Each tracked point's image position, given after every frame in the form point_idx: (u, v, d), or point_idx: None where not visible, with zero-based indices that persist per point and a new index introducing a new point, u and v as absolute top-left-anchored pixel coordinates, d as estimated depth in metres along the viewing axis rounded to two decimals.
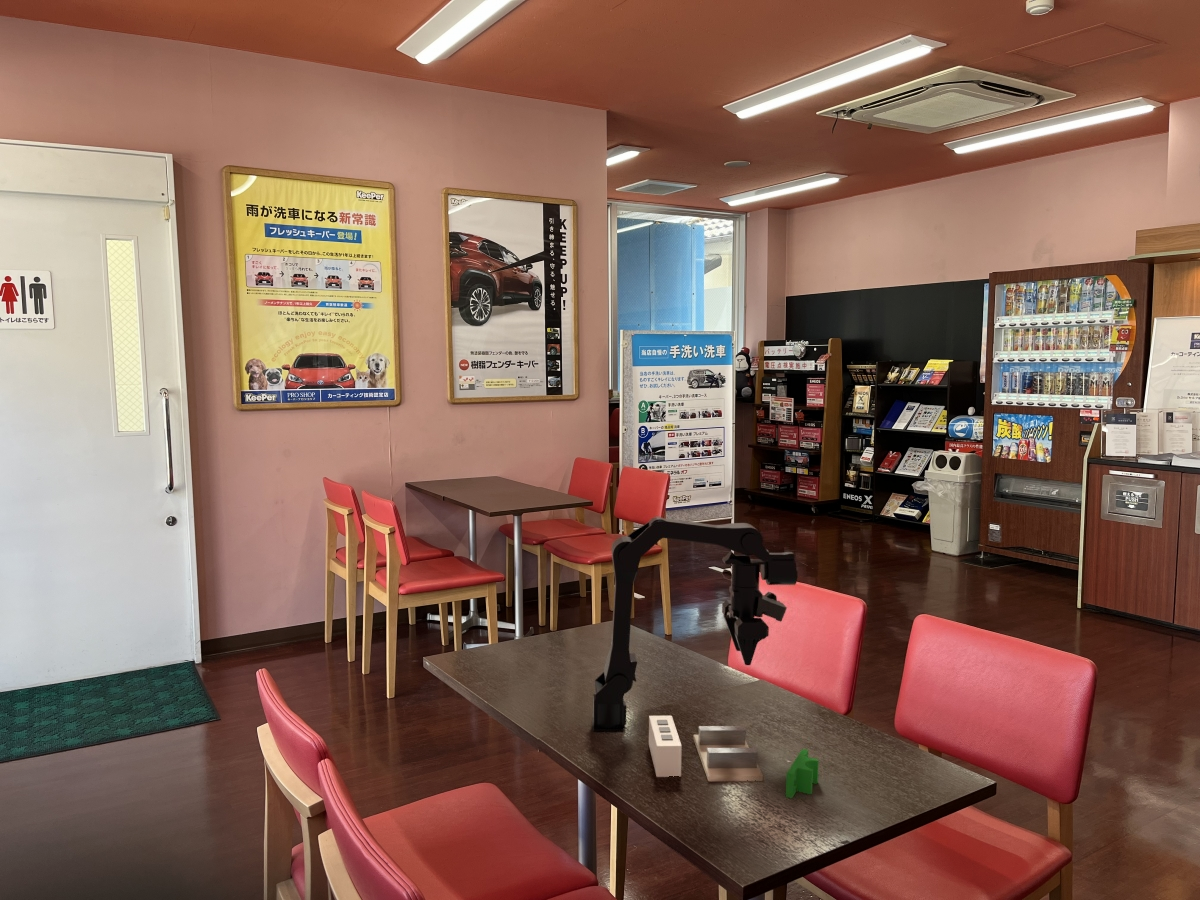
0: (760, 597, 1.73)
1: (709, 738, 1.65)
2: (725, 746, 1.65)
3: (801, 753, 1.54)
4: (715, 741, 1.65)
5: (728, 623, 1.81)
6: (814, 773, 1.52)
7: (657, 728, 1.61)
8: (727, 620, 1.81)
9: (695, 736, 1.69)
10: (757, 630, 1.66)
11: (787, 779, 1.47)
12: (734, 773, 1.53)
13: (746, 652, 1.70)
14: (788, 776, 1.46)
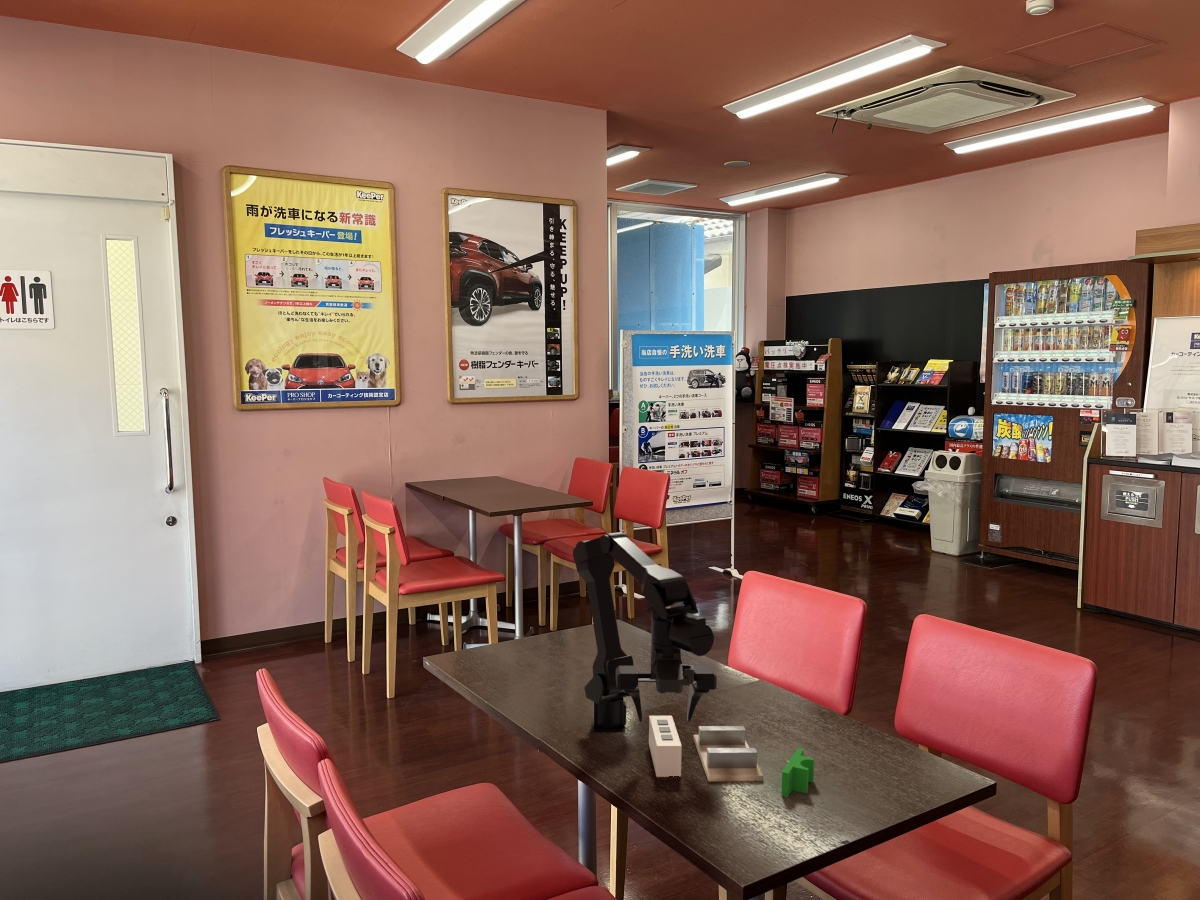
0: (655, 656, 1.56)
1: (709, 738, 1.65)
2: (725, 746, 1.65)
3: (797, 752, 1.55)
4: (715, 741, 1.65)
5: (689, 686, 1.62)
6: (810, 772, 1.52)
7: (657, 728, 1.61)
8: None
9: (695, 736, 1.69)
10: (616, 678, 1.59)
11: (783, 778, 1.47)
12: (734, 773, 1.53)
13: None
14: (783, 775, 1.47)
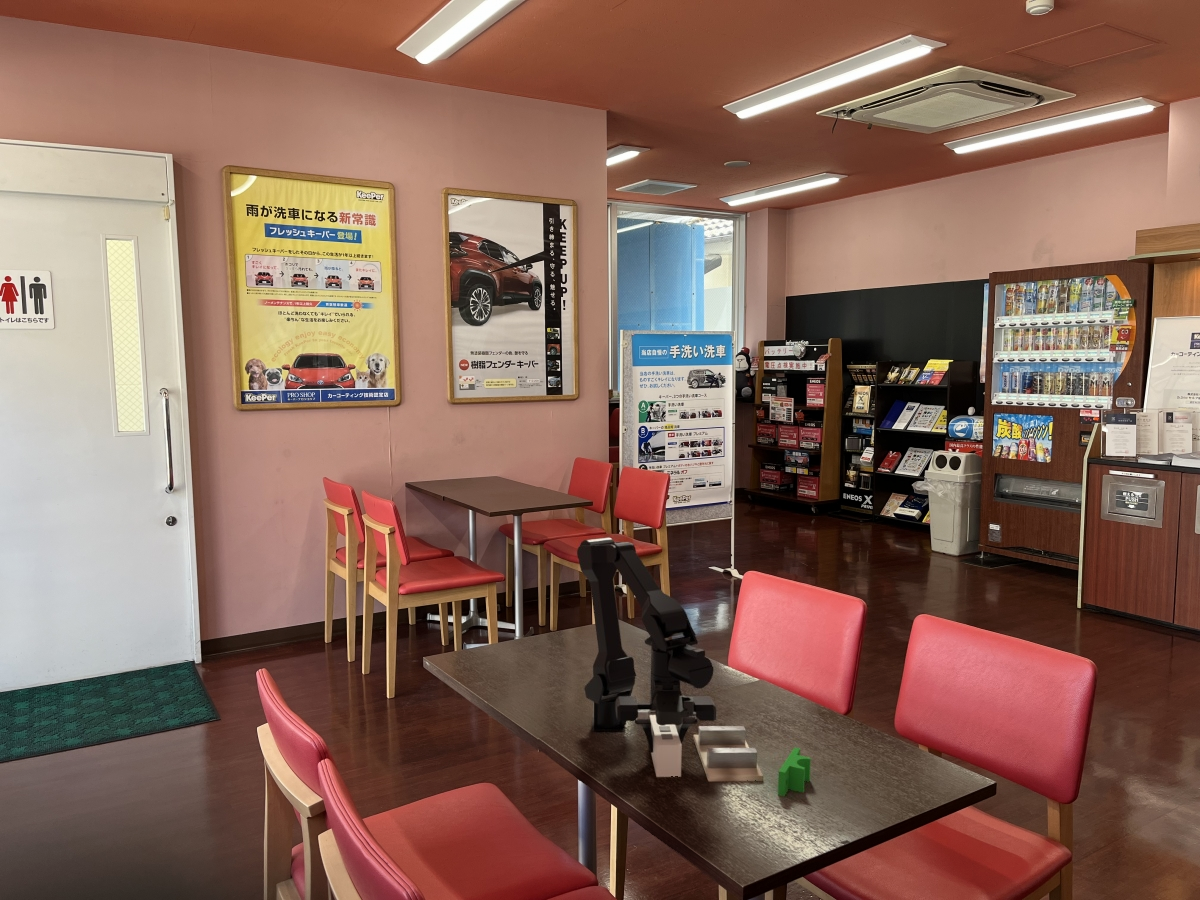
0: (654, 688, 1.57)
1: (709, 738, 1.65)
2: (725, 746, 1.65)
3: (793, 751, 1.55)
4: (715, 741, 1.65)
5: None
6: (806, 771, 1.52)
7: (657, 727, 1.61)
8: None
9: (695, 736, 1.69)
10: (616, 709, 1.59)
11: (779, 777, 1.47)
12: (734, 773, 1.53)
13: None
14: (780, 774, 1.47)
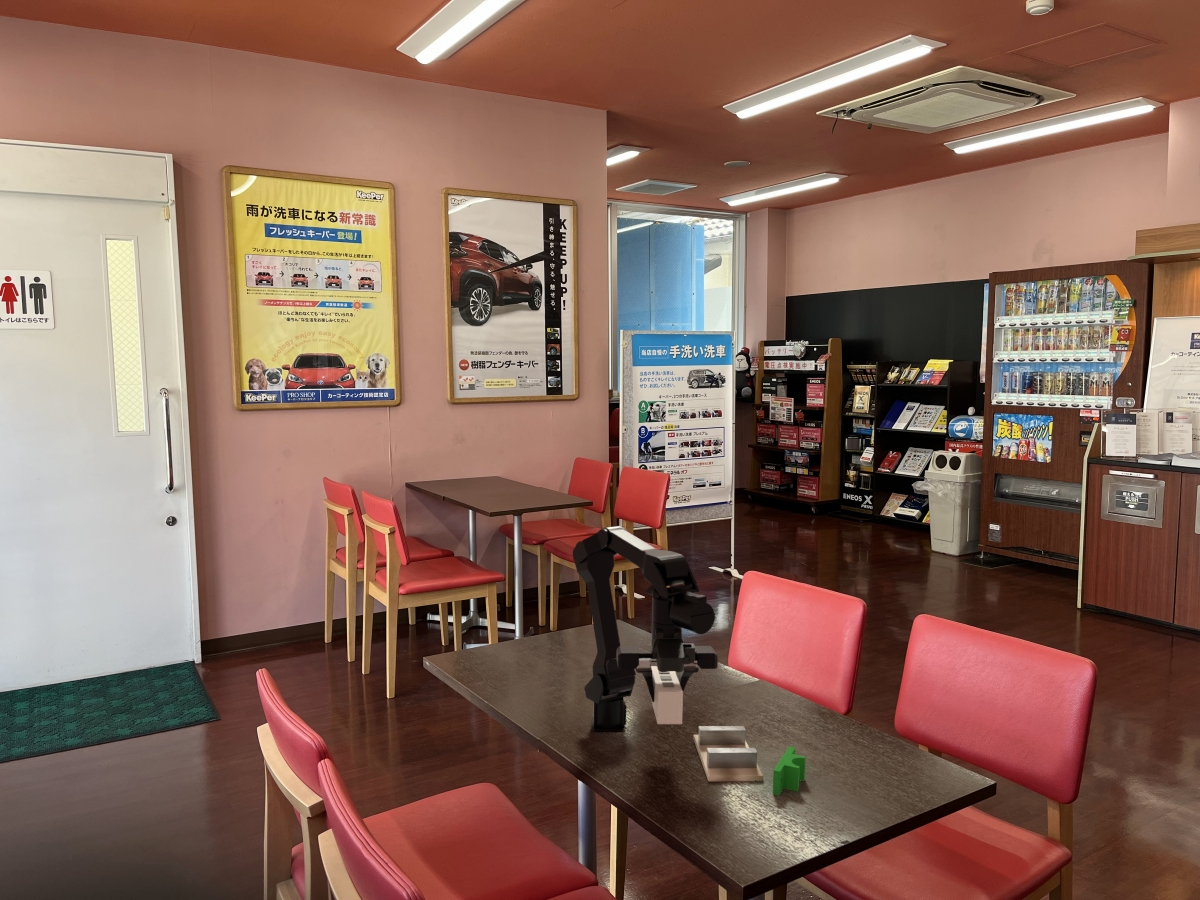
0: (655, 636, 1.56)
1: (709, 738, 1.65)
2: (725, 746, 1.65)
3: (788, 750, 1.55)
4: (715, 741, 1.65)
5: None
6: (801, 770, 1.53)
7: (658, 677, 1.60)
8: None
9: (695, 736, 1.69)
10: (617, 658, 1.58)
11: (774, 776, 1.47)
12: (734, 773, 1.53)
13: None
14: (775, 773, 1.47)
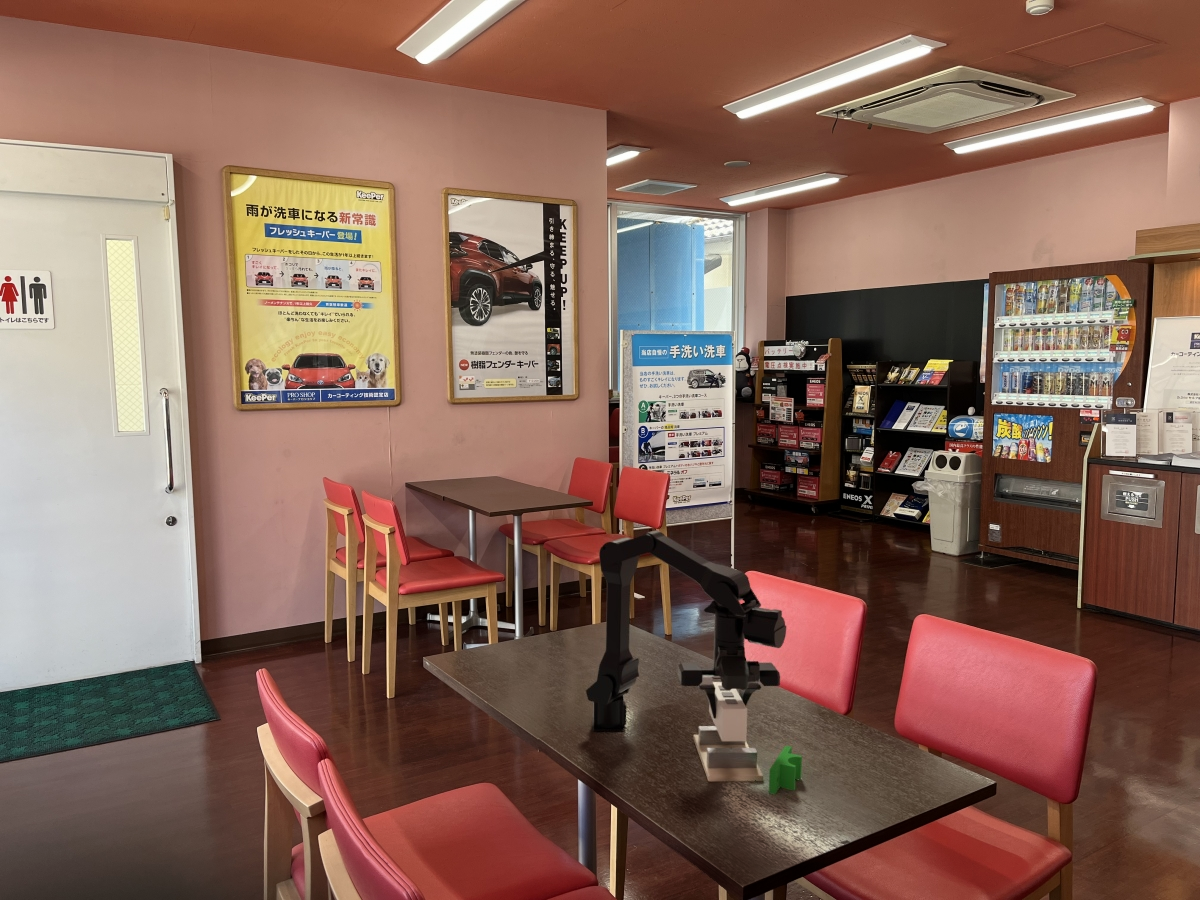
0: (719, 653, 1.57)
1: (709, 738, 1.65)
2: (725, 746, 1.65)
3: (784, 750, 1.56)
4: (715, 741, 1.65)
5: None
6: (797, 769, 1.53)
7: (720, 693, 1.61)
8: None
9: (695, 736, 1.69)
10: (679, 675, 1.59)
11: (770, 775, 1.48)
12: (734, 773, 1.53)
13: None
14: (771, 772, 1.48)
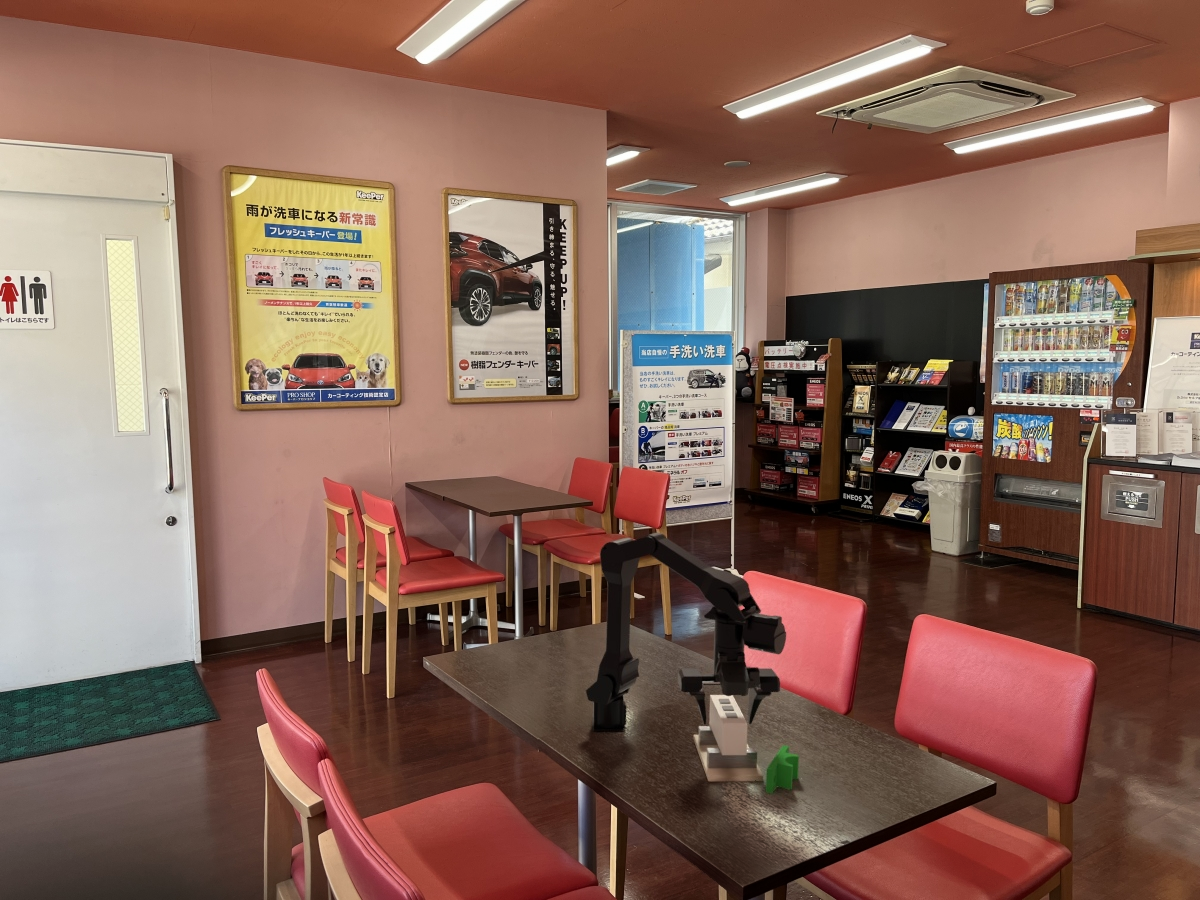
0: (719, 659, 1.57)
1: (709, 738, 1.65)
2: None
3: (782, 749, 1.56)
4: (715, 741, 1.65)
5: None
6: (794, 769, 1.53)
7: (720, 706, 1.61)
8: None
9: (695, 736, 1.69)
10: (680, 681, 1.59)
11: (767, 775, 1.48)
12: (734, 773, 1.53)
13: (699, 707, 1.61)
14: (768, 772, 1.48)
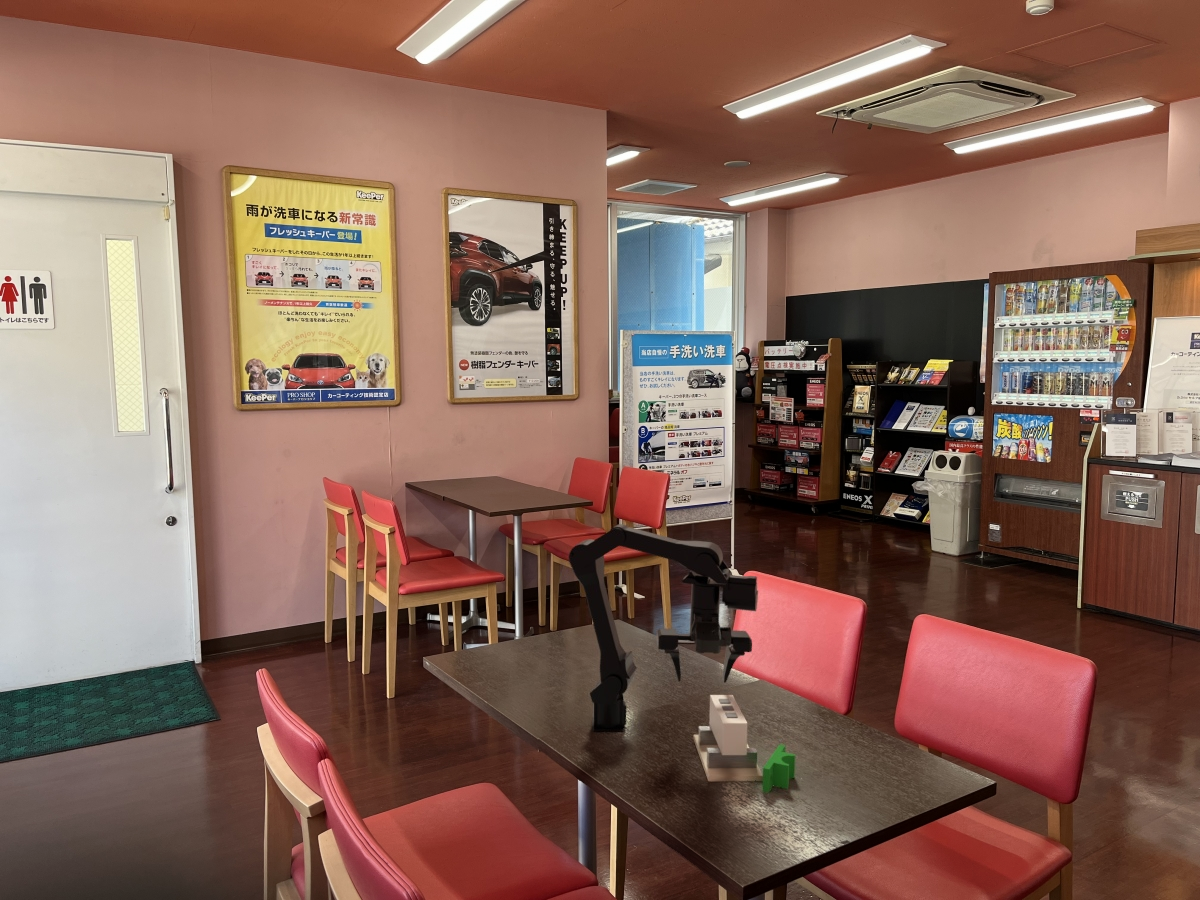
0: (694, 619, 1.66)
1: (709, 738, 1.65)
2: None
3: (778, 748, 1.56)
4: (715, 741, 1.65)
5: (726, 650, 1.72)
6: (791, 768, 1.54)
7: (720, 706, 1.61)
8: (726, 646, 1.72)
9: (695, 736, 1.69)
10: (657, 639, 1.69)
11: (763, 774, 1.48)
12: (734, 773, 1.53)
13: None
14: (764, 771, 1.48)
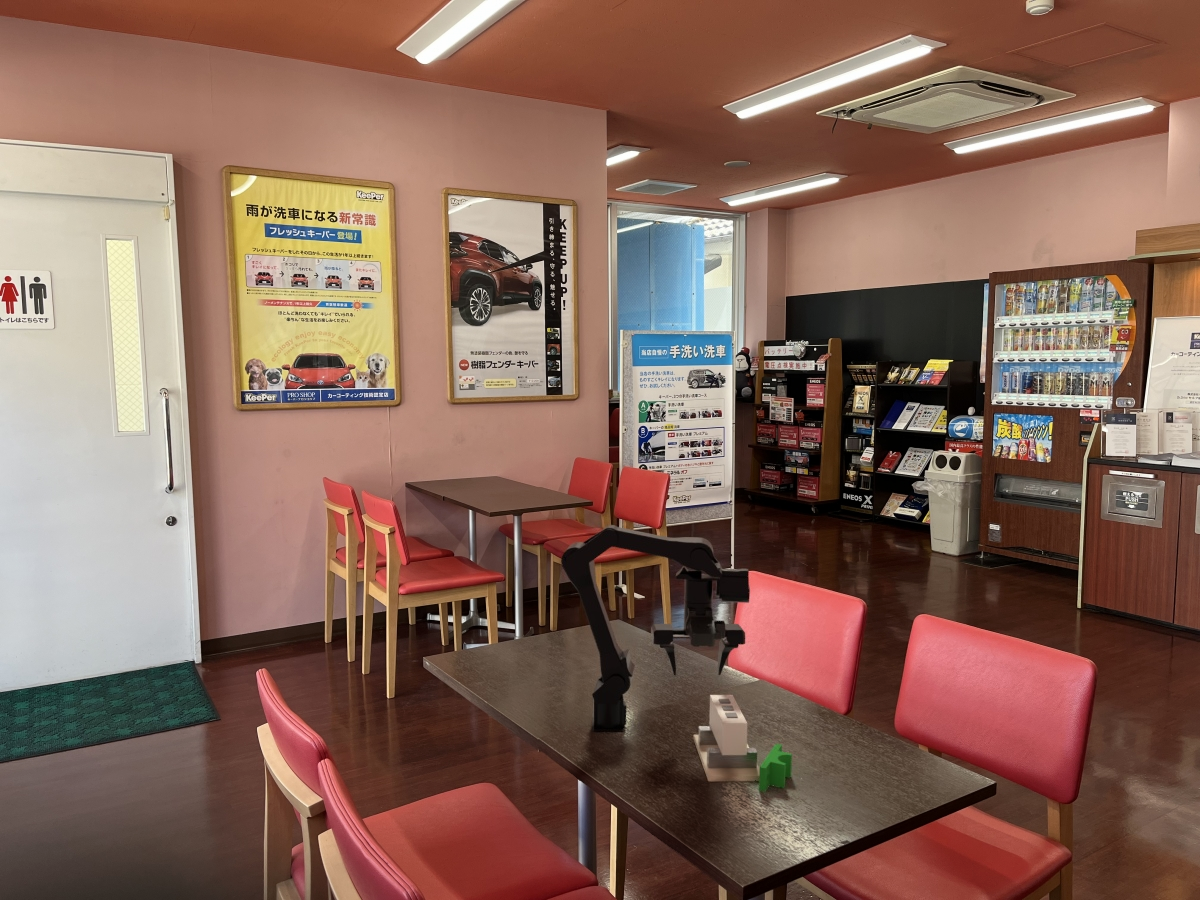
0: (688, 614, 1.69)
1: (709, 738, 1.65)
2: None
3: (775, 748, 1.57)
4: (715, 741, 1.65)
5: (719, 643, 1.75)
6: (787, 767, 1.54)
7: (720, 706, 1.61)
8: (719, 640, 1.75)
9: (695, 736, 1.69)
10: (652, 635, 1.71)
11: (760, 773, 1.49)
12: (734, 773, 1.53)
13: (669, 659, 1.73)
14: (761, 770, 1.49)
